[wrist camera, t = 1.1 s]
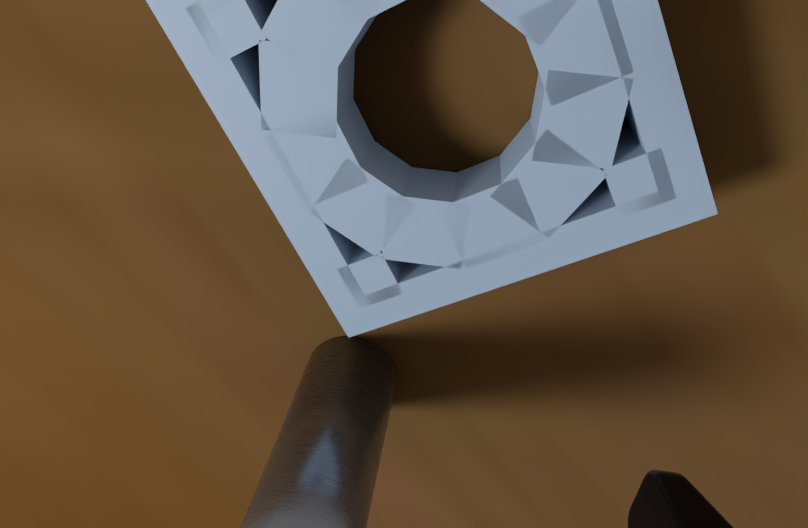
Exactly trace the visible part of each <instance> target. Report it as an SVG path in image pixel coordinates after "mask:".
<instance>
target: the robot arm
mask: <svg viewBox="0 0 808 528" xmlns="http://www.w3.org/2000/svg"><path fill="white" fill-rule="evenodd" d="M628 528H733V527H732V526H731V525H730V524H729V523H728V522H727V521H726V520H725V518H724V517H723V516H722V515H721V514H720V513H719V512H718V511H717V510H716V509H715V508H714V507H713V506H712V505H711V504H710V503H709V502H708V501H707V500H706V499H705V498H704V496H703V495H702V494H701V493H700V492H699V491H698V490H697V489H696V488H695V487H694V486H693V485H692V484H691V483H690V482H689V481H688V480H687V479H686V478H685V477H684V476H682V475H681V474H678V473H673V472H666V471H658V470H651V471H649V472H648V473H647V474H646V476H645V477H644V479H643V482H642V484H641V486H640V488H639V490H638V492H637V494H636V497H635V499H634V501H633V503H632V505H631V508H630V511H629V515H628Z"/></svg>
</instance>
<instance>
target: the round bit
mask: <svg viewBox="0 0 808 528" xmlns="http://www.w3.org/2000/svg"><path fill="white" fill-rule="evenodd" d="M395 385H396V370H395V367H394V364H393V362H392V360H391V359H390V357H389V356H388V355H387V354H386V353H385V352H384V351H383V350H382V349H381V348H379V347H378V346H377V345H375V344H373V343H371V342H369V341H367V340H364V339H360V338H356V337H349V338H348V337H337V338H333V339H330V340H327V341H325V342H323V343H322V344H320V345H319V346H318V347H317V348H316V349H315V350H314V351H313V353H312V354H311V357H310V359H309V361H308V364H307V366H306V369H305V371H304V373H303V376H302V378H301V381H300V383H299V386H298V388H297V391H296V393H295V395H294V398H293V400H292V403H291V405H290V408H289V410H288V412H287V415H286V417H285V420H284V422H283V425H282V427H281V429H280V432H279V434H278V437H277V439H276V442H275V444H274V447H273V449H272V451H271V454H270V456H269V459H268V461H267V464H266V466H265V468H264V471H263V473H262V476H261V478H260V481H259V483H258V486H257V488H256V490H255V493H254V495H253V498H252V500H251V503H250V505H249V507H248V510H247V512H246V515H245V517H244V520H243V522H242V525H241V527H240V528H366V525H367V521H368V516H369V511H370V506H371V501H372V496H373V491H374V487H375V482H376V477H377V472H378V467H379V462H380V458H381V453H382V448H383V443H384V438H385V433H386V428H387V424H388V419H389V414H390V409H391V404H392V399H393V395H394V390H395Z"/></svg>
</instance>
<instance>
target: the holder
mask: <svg viewBox="0 0 808 528" xmlns="http://www.w3.org/2000/svg"><path fill="white" fill-rule="evenodd" d="M146 1H147V3H148V5H149V6H150V8H151V10H152V11H153V13H154V15H155V16H156V18H157V20H158V21H159V23H160V25H161V26H162V28H163V30H164V31H165V33H166V35H167V36H168V38H169V40H170V41H171V43H172V45H173V46H174V48H175V50H176V51H177V53H178V55H179V56H180V58H181V60H182V61H183V63H184V65H185V66H186V68H187V70H188V71H189V73H190V75H191V76H192V78H193V80H194V81H195V83H196V85H197V86H198V88H199V90H200V91H201V93H202V95H203V96H204V98H205V100H206V101H207V103H208V105H209V106H210V108H211V110H212V111H213V113H214V115H215V116H216V118H217V120H218V121H219V123H220V125H221V126H222V128H223V130H224V131H225V133H226V135H227V136H228V138H229V140H230V141H231V143H232V145H233V146H234V148H235V150H236V151H237V153H238V155H239V156H240V158H241V160H242V161H243V163H244V165H245V166H246V168H247V169H248V171H249V173H250V174H251V176H252V178H253V179H254V181H255V183H256V184H257V186H258V188H259V189H260V191H261V193H262V194H263V196H264V198H265V199H266V201H267V203H268V204H269V206H270V208H271V209H272V211H273V213H274V214H275V216H276V218H277V219H278V221H279V223H280V224H281V226H282V228H283V229H284V231H285V233H286V234H287V236H288V238H289V239H290V241H291V243H292V244H293V246H294V248H295V249H296V251H297V253H298V254H299V256H300V258H301V259H302V261H303V263H304V264H305V266H306V268H307V269H308V271H309V273H310V274H311V276H312V278H313V279H314V281H315V283H316V284H317V286H318V288H319V289H320V291H321V293H322V294H323V296H324V298H325V299H326V301H327V303H328V304H329V306H330V308H331V309H332V311H333V313H334V314H335V316H336V318H337V319H338V321H339V323H340V324H341V326H342V328H343V329H344V331H345V333H346V334H347V336H348V338H349V337H352V336H355V335H358V334H361V333H364V332H367V331H370V330H373V329H376V328H379V327H382V326H385V325H388V324H391V323H394V322H397V321H400V320H403V319H406V318H409V317H412V316H415V315H418V314H421V313H424V312H427V311H430V310H433V309H436V308H439V307H442V306H445V305H448V304H451V303H454V302H457V301H460V300H463V299H466V298H469V297H472V296H475V295H478V294H481V293H484V292H487V291H490V290H493V289H496V288H499V287H502V286H505V285H508V284H511V283H514V282H517V281H520V280H522V279H525V278H528V277H531V276H534V275H537V274H540V273H543V272H546V271H549V270H552V269H555V268H558V267H561V266H564V265H567V264H570V263H573V262H576V261H579V260H582V259H585V258H588V257H591V256H594V255H597V254H600V253H603V252H606V251H609V250H612V249H615V248H618V247H621V246H624V245H627V244H630V243H633V242H636V241H639V240H642V239H645V238H648V237H651V236H654V235H657V234H660V233H663V232H666V231H669V230H672V229H675V228H678V227H681V226H684V225H687V224H690V223H693V222H696V221H699V220H701V219H704V218H707V217H710V216H713V215H716V214H718V213H717V209H716V206H715V202H714V199H713V195H712V192H711V188H710V185H709V181H708V177H707V174H706V170H705V167H704V163H703V160H702V156H701V153H700V149H699V145H698V142H697V138H696V135H695V131H694V128H693V124H692V120H691V117H690V113H689V110H688V106H687V103H686V99H685V96H684V92H683V88H682V85H681V81H680V78H679V74H678V71H677V67H676V64H675V60H674V56H673V53H672V49H671V46H670V42H669V39H668V35H667V31H666V28H665V24H664V21H663V17H662V14H661V10H660V7H659V3H658V0H480V1H482V2H483V3H484V4H486V5H487V6H488V7H489V8H491V9H492V10H493V11H495V12H496V13H497V14H498V15H500V16H501V17H502V18H504V19H505V20H506V21H507V22H509V23H510V24H511V25H513V26H514V27H515V28H516V29H518V30H519V31H520V32H522V33H523V34H524V35H525V36H526V39H527V42H528V44H529V47H530V50H531V53H532V55H533V58H534V61H535V63H536V66H537V69H538V71H539V72H538V78H537V84H536V89H535V95H534V101H533V106H532V112H531V118H530V119H529V120H528V122H527V123H526V124H525V125H524V127H523V128H522V129H521V130H520V131H519V133H518V134H517V135H516V136H515V137H514V139H513V140H512V141H511V142H510V144H509V145H508V146H507V147H506V148H505V150H504V151H503V152H502V153H501V155H499V156H497V157H494V158H492V159H489V160H487V161H484V162H482V163H479V164H477V165H474V166H472V167H469V168H467V169H464V170H462V171H459V172H450V171H441V170H432V169H424V168H415V167H411V166H410V165H408V164H407V163H405V162H404V161H402V160H401V159H400V158H398V157H397V156H395V155H394V154H392V153H391V152H390V151H388V150H387V149H385V148H384V147H382V146H381V145H380V144H378V143H377V142H375V141H374V139H373V137H372V135H371V133H370V131H369V129H368V127H367V125H366V123H365V121H364V119H363V117H362V115H361V113H360V111H359V109H358V107H357V105H356V103H355V101H354V99H353V91H354V65H355V49H356V48H357V46H358V44H359V43H360V41H361V40H362V38H363V36H364V35H365V33H366V32H367V30H368V28H369V27H370V25H371V24H372V22H373V20H374V19H375V17H376V16H377V14H379V13H381V12H383V11H385V10H387V9H389V8H391V7H393V6H395V5H397V4H399V3H401V2H403V1H405V0H146ZM625 115H626V118H627V121H628V124H629V127H627V128H625V129H622V130H621V128H622V124H623V120H624V116H625Z"/></svg>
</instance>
